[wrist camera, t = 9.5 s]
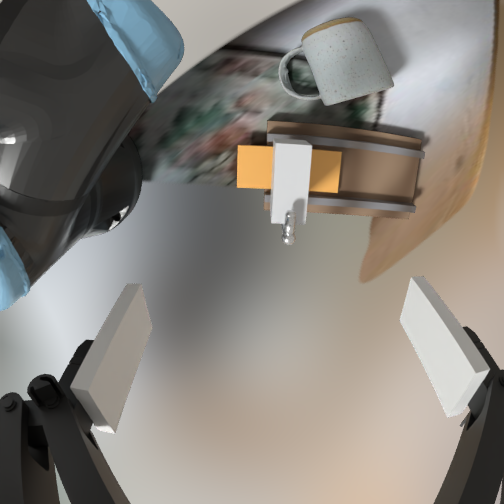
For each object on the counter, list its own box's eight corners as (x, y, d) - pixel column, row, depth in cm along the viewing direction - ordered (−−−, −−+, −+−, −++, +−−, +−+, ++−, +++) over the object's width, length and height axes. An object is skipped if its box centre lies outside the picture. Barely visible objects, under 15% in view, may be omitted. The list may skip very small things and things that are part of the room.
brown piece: (263, 205, 37) (263, 213, 34) (267, 120, 32) (268, 121, 30) (404, 215, 37) (412, 222, 34) (415, 138, 32) (426, 141, 30)
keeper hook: (270, 211, 35) (274, 247, 27) (272, 183, 34) (276, 211, 25) (292, 212, 35) (302, 248, 27) (294, 184, 34) (306, 212, 25)
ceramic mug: (351, 25, 27) (373, 8, 20) (379, 88, 30) (407, 86, 23) (265, 52, 29) (265, 38, 22) (295, 117, 32) (303, 120, 25)
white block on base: (237, 196, 35) (231, 221, 28) (238, 134, 31) (232, 141, 25) (335, 201, 34) (353, 227, 28) (341, 140, 31) (363, 150, 24)
